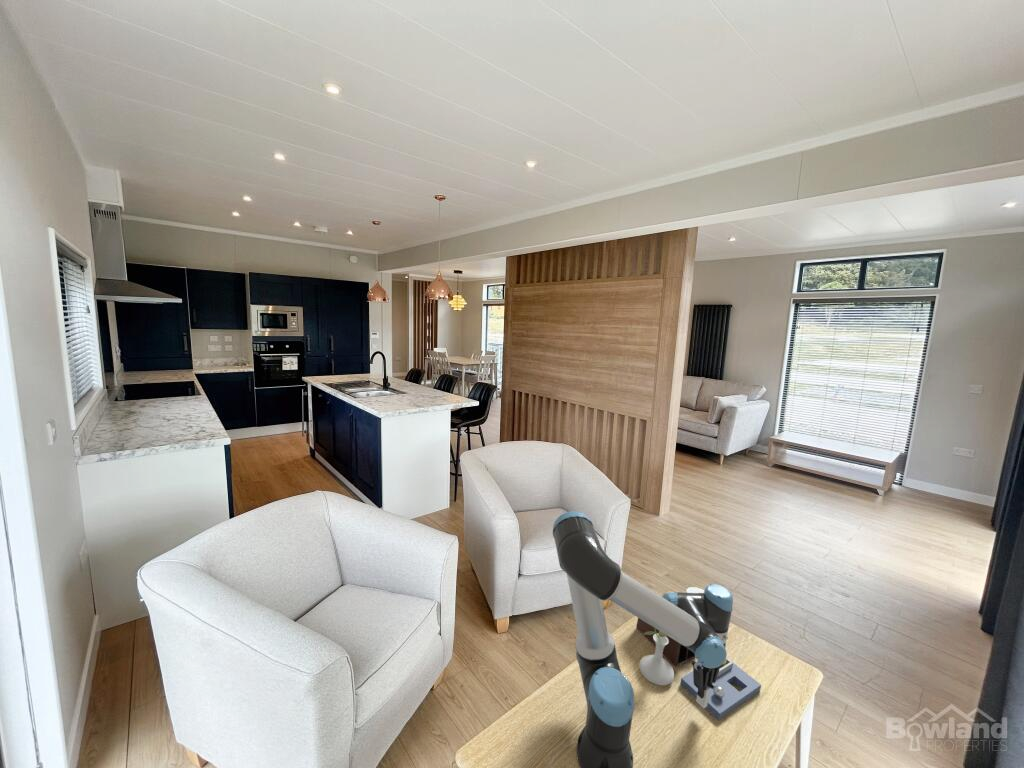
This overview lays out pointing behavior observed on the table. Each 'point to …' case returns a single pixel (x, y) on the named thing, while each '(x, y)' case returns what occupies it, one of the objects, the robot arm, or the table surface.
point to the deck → (725, 689)
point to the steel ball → (718, 691)
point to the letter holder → (668, 646)
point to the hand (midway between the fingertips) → (701, 703)
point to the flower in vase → (657, 662)
